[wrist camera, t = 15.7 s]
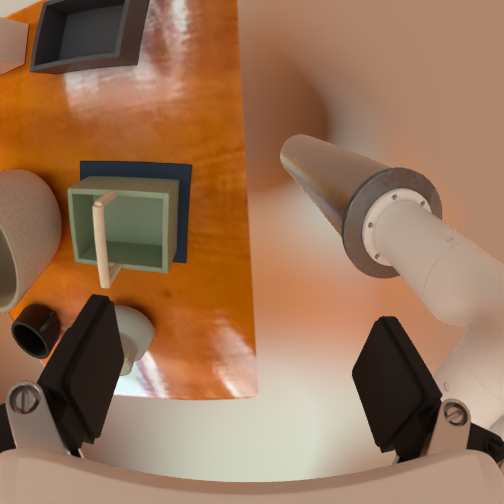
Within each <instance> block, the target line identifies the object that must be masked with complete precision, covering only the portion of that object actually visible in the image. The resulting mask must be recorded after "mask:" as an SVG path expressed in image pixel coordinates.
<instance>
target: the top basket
mask: <svg viewBox="0 0 504 504" xmlns="http://www.w3.org/2000/svg"><path fill="white" fill-rule="evenodd" d="M179 183H180V180H173V179H157V178H139V177H115V176H89V177H87V178H85V179H83V180H81V181H80V182H78V183H76V184H74V185H72V186H71V187H69V188H67V193H68V207H69V218H70V228H71V236H72V244H73V251H74V258H75V263H82V264H90V265H98V271H99V278H100V284H101V287H102V288H110V286H111V284H112V283H113V281H114V279H115V278H116V276H117V275H118V273H119V271H120V270H121V268H123V269H131V270H140V271H150V272H159V273H162V272H163V273H168V272H169V269H170V266H171V264H172V261H173V258H174V256H175V253H176V250H177V223H178V200H179ZM109 267H112V269H111V270H110V272H109Z"/></svg>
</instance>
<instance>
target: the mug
mask: <svg viewBox="0 0 504 504" xmlns="http://www.w3.org/2000/svg"><path fill="white" fill-rule="evenodd" d="M56 316H57V313H56V312H55V311H53V312H52V313H51V312H50V311H49V310H48V309H47V308H45V307H44V306H42V305H39V304H32V305H29V306H27V307H25V308H24V310H23V311H22V312H21V314H20V315H19V316H18V317H17V319H16V320H15V321H14V323H13V324H12V328H11V331H12V335H13V337H14V339H15V341H16V342H17V344H18V345H19V346H20V347H21V348H22V349H23V350H24V351H25V352H26V353H28V354H29V355H31V356H33V357H35V358H38V359H45V358H47V357H48V356H49V354H50V352H51V350H52V349H53V347H54V345H55V343H56V342H57V340H58V338H59V334H60V327H59V323H58V321H57V319H56V318H55V317H56Z"/></svg>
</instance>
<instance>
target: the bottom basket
mask: <svg viewBox="0 0 504 504" xmlns="http://www.w3.org/2000/svg"><path fill="white" fill-rule="evenodd" d="M148 5H149V0H50V1H48V2H45V3H44V4H43V7H42V11H41V15H40V19H39V23H38V27H37V32H36V36H35V41H34V47H33V52H32V58H31V65H30V72H36V73H48V74H60V73H66V72H72V71H79V70H87V69H95V68H104V67H115V66H130V65H137V64H138V57H139V51H140V45H141V39H142V34H143V28H144V23H145V18H146V14H147V9H148Z"/></svg>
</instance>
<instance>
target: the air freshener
mask: <svg viewBox="0 0 504 504" xmlns="http://www.w3.org/2000/svg"><path fill="white" fill-rule="evenodd" d="M114 306H115V312H116V318H117V323H118V328H119V333H120V338H121V343H122V348H123V352H124V364H123V367H122V370H121V373H120V376H124V375H127V374H129V373H130V372H131V370H132V367H133V363H134V361H137V360H140V359H141V358H142V356H143V355H144V354H145V352H146V350H147V349H148V347H149V345H150V343H151V342H152V339H153V337H154V335H155V329H154V327H153V325H152V323H151V322H150V321H149V319H148V318H147V317H146V316H145V315H144V314H142V313H141V312H140V311H138V310H136V309H134V308H132V307H129V306H124V305H114Z"/></svg>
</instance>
